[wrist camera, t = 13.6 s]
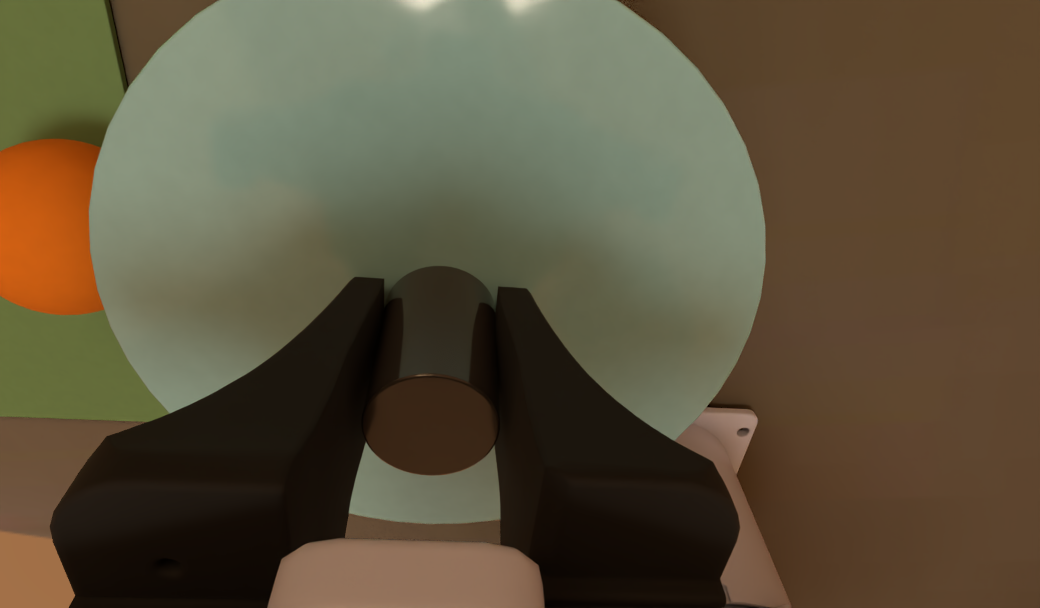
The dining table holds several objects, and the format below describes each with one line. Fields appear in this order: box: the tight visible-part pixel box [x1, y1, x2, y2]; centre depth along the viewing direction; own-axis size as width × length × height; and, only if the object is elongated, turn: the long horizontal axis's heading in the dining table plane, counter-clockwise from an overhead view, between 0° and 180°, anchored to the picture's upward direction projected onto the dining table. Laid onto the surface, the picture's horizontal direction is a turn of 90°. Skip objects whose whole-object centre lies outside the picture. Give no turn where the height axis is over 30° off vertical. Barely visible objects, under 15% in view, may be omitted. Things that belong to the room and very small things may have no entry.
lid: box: [89, 0, 766, 524], centre depth 14 cm, size 14×14×5 cm
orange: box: [0, 139, 104, 315], centre depth 19 cm, size 5×5×5 cm
